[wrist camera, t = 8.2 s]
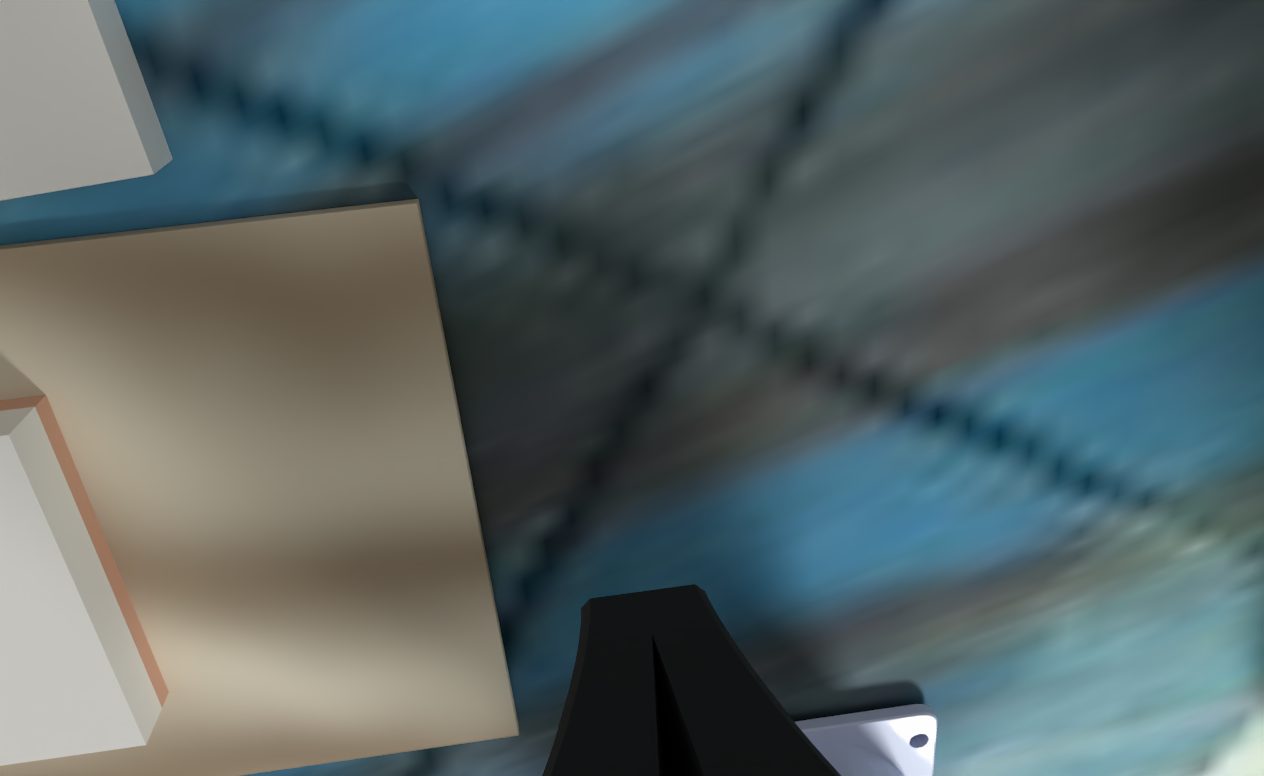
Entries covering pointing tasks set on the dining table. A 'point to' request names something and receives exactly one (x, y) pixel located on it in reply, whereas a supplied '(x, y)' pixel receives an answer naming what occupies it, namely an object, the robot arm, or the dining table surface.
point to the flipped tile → (72, 99)
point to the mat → (270, 482)
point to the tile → (63, 608)
